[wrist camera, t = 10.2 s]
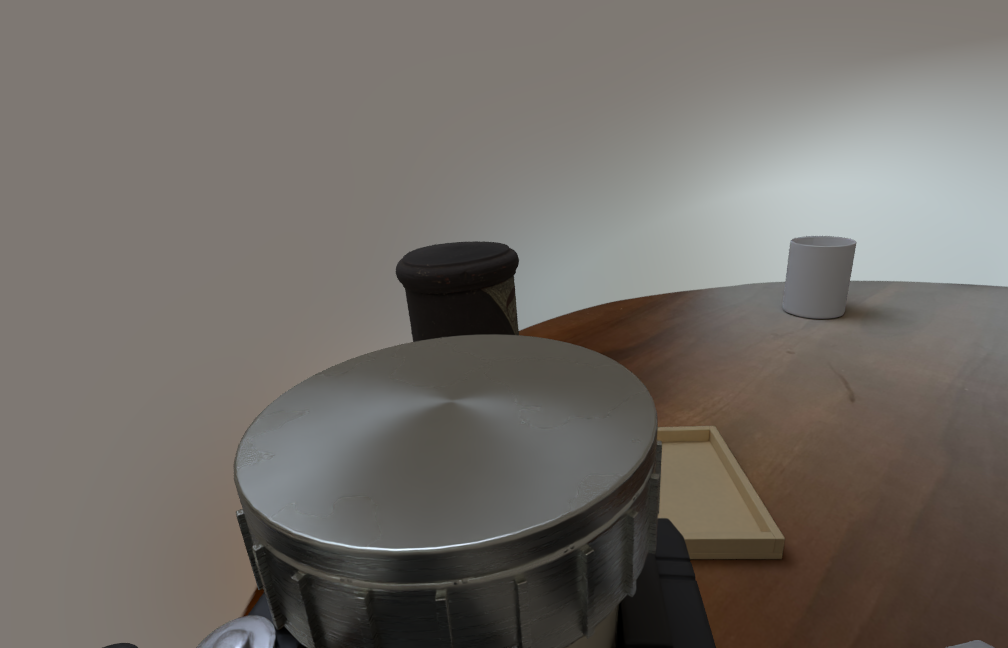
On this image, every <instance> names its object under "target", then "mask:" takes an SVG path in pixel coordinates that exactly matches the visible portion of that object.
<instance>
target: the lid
mask: <svg viewBox="0 0 1008 648" xmlns="http://www.w3.org/2000/svg"><path fill="white" fill-rule="evenodd" d="M657 429H658V428H657V412H656V408H655V405H654V402H653V399H652V397H651V395H650V394H649V392H648V390H647V388H646V387H645V386H644V384H643V383H642V382H641V381H640V380H639V379H638V378H637V377H636V376H635V375H634V374H633V373H632V372H630V371H629V370H628V369H627V368H625V367H624V366H622V365H621V364H619V363H617V362H616V361H614V360H612V359H610V358H608V357H606V356H604V355H602V354H600V353H597V352H595V351H592V350H589V349H586V348H584V347H580V346H577V345H573V344H569V343H566V342H561V341H556V340H551V339H544V338H537V337H529V336H518V335H464V336H452V337H442V338H435V339H428V340H422V341H416V342H411V343H406V344H401V345H397V346H394V347H389V348H385V349H381V350H378V351H375V352H371V353H368V354H365V355H362V356H359V357H356V358H353V359H350V360H347V361H345V362H342V363H340V364H337V365H335V366H332V367H330V368H328V369H326V370H324V371H322V372H320V373H318V374H315V375H313V376H312V377H310V378H308V379H307V380H304V381H303V382H301V383H299V384H298V385H296V386H294V387H293V388H291V389H290V390H288V391H287V392H285V393H284V394H282V395H281V396H280V397H279V398H277V399H276V400H275V401H273V402H272V403H271V404H270V405H268V406H267V407H266V408H265V409H264V410H263V411H262V412H261V413H260V414H259V415H258V416H257V417H256V418H255V420H254V421H253V422H252V424H251V425H250V426H249V428H248V429H247V430H246V432H245V434H244V436H243V437H242V440H241V441H240V444H239V445H238V449H237V453H236V457H235V461H234V481H235V485H236V488H237V491H238V495H239V498H240V502H241V504H242V507H243V509H241V510H238V511H236V515H237V519H238V523H239V526H240V529H241V533H242V536H243V539H244V543H245V546H246V549H247V553H248V556H249V559H250V563H251V566H252V569H253V573H254V576H255V579H256V583H257V586H258V589H259V590H260V589H262V588H263V589H264V592H265V595H266V599H267V602H268V606H269V609H270V612H271V616H272V619H273V623H274V626H275V627H276V628H277V630H279V629H281V628H282V627H283V626H285V627H286V628H287V629H288V631H289V632H290V633H291V634H292V635H293V636H294V637H295V638H296V639H297V640H298V641H299V642H300V643H301V644H303V645H304V646H306V647H307V648H566V647H569V646H570V645H571V644H573V643H575V642H576V641H577V640H578V639H580V638H582V637H583V636H585V637H586V638H587V639H589V638H590V637H591V636H593V635H594V634H595V627H596V626H597V625H598V624H599V623H600V622H602V621H603V620H604V619H605V618H606V617H608V616H609V615H610V613H611V612H612V611H613V610H614V609H615V608H616V607H617V605H618V604H619V603H620V602H621V601H622V600H623V599H624V597H625V596H626V595H629V596H630V597H633V595H634V594H635V593H636V579H637V578H638V576H639V575H640V573H641V571H642V569H643V566H644V564H645V561H646V559H647V556H648V554H649V552H650V553H653V554H655V552H656V545H657V522H658V514H659V504H660V481H661V459H662V441H658V440H657Z"/></svg>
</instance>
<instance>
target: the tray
mask: <svg viewBox="0 0 1008 648" xmlns="http://www.w3.org/2000/svg"><path fill="white" fill-rule="evenodd" d="M657 428H658V429H657V440H658V441H662V459H661V481H660V504H659V514H658V518H668V519H669V520H670V521H671V522H672V523H673V525H674V526H675V527H676V528H677V529H678V531H679V532H680V533H681V534H682V535H683V537H684V540H685V543H686V546H687V550H688V553H689V557H690V559H782V555H783V548H784V541H785V538H784V536H783V535H782V533H781V532H780V530H779V528H778V527H777V525H776V524H775V522H774V520H773V519H772V517H771V516H770V514H769V512H768V511H767V509H766V508H765V506H764V504H763V503H762V501H761V499H760V498H759V496H758V495H757V493H756V491H755V490H754V488H753V487H752V485H751V483H750V482H749V480H748V479H747V477H746V475H745V474H744V472H743V471H742V469H741V467H740V466H739V464H738V462H737V461H736V459H735V458H734V456H733V454H732V453H731V451H730V450H729V448H728V446H727V445H726V443H725V442H724V440H723V438H722V437H721V435H720V434H719V432H718V430H717V429H716V427H715V426H692V427H657Z"/></svg>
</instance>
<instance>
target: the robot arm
mask: <svg viewBox="0 0 1008 648" xmlns="http://www.w3.org/2000/svg"><path fill="white" fill-rule="evenodd" d="M104 648H138V647H137V646H135V645H133V644H130V643H119V644H113V645H109V646H106V647H104ZM197 648H307V647H306V646H304V645H303V644H301V643H300V642H299V641H298V640H297V639H296V638H295V637H294V636H293V635H292V634H291V633H290V632H289V631H288V629H287V628H286V627H285V626H283V627H282V628H281V629H279V630H277V628H276V627H275V626H274V623H273V619H272V616H271V612H270V609H269V606H268V602H267V599H266V595H265V592H264V593H263V595H262V596H261V598H260V599H259V600H258V602H257V603H256V605H255V606H254V607H253V609H252V610H251V612H250V613H249V615H248V616H244V617H240V618H237V619H234V620H232V621H230V622H228V623H226V624H224V625H222V626H221V627H219V628H217V629H216V630H214V631H213V632H212V633H210V634H209V635H208V636H207V637H206V638H205V639H204V640H203V641H202V642H201V643H200V644H199V645H198V647H197ZM619 648H716V646H715V643H714V639H713V636H712V632H711V629H710V625H709V622H708V619H707V615H706V612H705V608H704V605H703V601H702V598H701V595H700V591H699V588H698V584H697V581H696V580H695V574H694V570H693V567H692V564H691V562H690V557H689V553H688V550H687V546H686V543H685V540H684V537H683V535H682V534H681V533H680V532H679V531H678V529H677V528H676V527H675V526H674V525H673V523H672V522H671V521H670V520H669V519H668V518H658V522H657V545H656V552H655V554H653V553H650V552H649V554H648V556H647V559H646V561H645V564H644V566H643V569H642V571H641V573H640V575H639V576H638V578H637V579H636V593H635V594H634V595H633V597H630V596H629V595H626V596H625V597H624V599H623V600H622V601H621V602H620V610H619Z"/></svg>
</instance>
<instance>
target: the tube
mask: <svg viewBox="0 0 1008 648" xmlns="http://www.w3.org/2000/svg"><path fill="white" fill-rule="evenodd" d="M947 648H994V647H992V646H990V645H988V644H986V643H984V642H982V641H980V640H976V641H972V642H967V643H963V644H959V645H955V646H951V647H947Z"/></svg>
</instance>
